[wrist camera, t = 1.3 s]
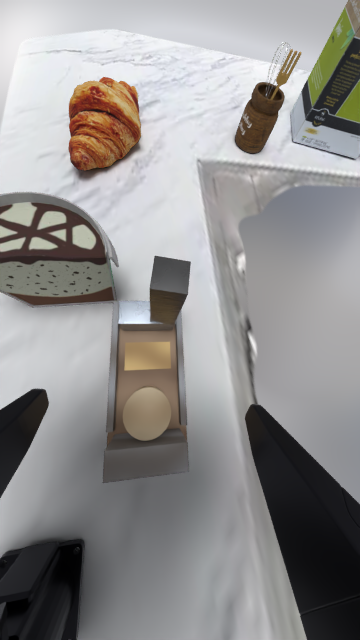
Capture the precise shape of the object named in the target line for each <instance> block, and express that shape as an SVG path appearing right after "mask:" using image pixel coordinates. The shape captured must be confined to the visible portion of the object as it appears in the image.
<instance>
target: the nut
mask: <svg viewBox="0 0 360 640" xmlns="http://www.w3.org/2000/svg"><path fill="white" fill-rule="evenodd" d="M170 419H171V406H170V403H169V401H168V399H167V397H166V396H165V395H164V393H163V392H162V391H161V390H160V389H158V388H157V387H154V386H144V387H142V388H140V389H138V390H137V391H136V392H134V393H133V395H132V396H131V397H130V398H129V399H128V400H127V402H126V404H125V407H124V410H123V423H124V426H125V428H126V430H127V432H128V433H129V434H130V435H131V436H132V437H134V438H136V439H138V440H143V441H148V440H152V439H155V438H157V437H158V436H160V435H161V434H162V433H163V432H164V431H165V430H166V428H167V427H168V425H169V422H170Z"/></svg>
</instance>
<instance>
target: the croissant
mask: <svg viewBox="0 0 360 640" xmlns="http://www.w3.org/2000/svg"><path fill="white" fill-rule="evenodd" d="M69 117H70V124H69V128H70V134H71V139H70V142H69V152H70V160H71V163H72V164H73V165H74V166H75V167H76V168H77V169H80V170H82V169H83V170H89V169H92V168H96V167H99V168H101V167H102V168H104V167H108V166H111V165H112V164H113V163H114V162H115V161H116V160H118V159H122V158H123V157H124V156H125V155H126V154H127V153H128V152H129V150H130V149H131V148H132V147H133V146H134V145H135V144H136V143H137V142H138V141H139V139H140V137H141V130H140V128H141V123H140V121H139V106H138V93H137V91H136V88H135V87H134V86H132V87H130V86H129V85H128V84H127V83H126V82H124V81H120V82H119V83H118V82H116V81H114V80H113V79H111V78H106V77H103V78H102V79H100V81H99V82H98V81H88V82H85V83H83V84H82V85H78V86H77V87H76V88H75V89H74V94H73V96H72V97H71V99H70V103H69Z"/></svg>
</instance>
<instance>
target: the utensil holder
mask: <svg viewBox="0 0 360 640" xmlns="http://www.w3.org/2000/svg"><path fill="white" fill-rule="evenodd" d="M285 44H286V42H285ZM285 44H284V45H285ZM287 44H288V43H287ZM284 45H283V46H284ZM288 45H289V44H288ZM289 46H290V45H289ZM278 48H279V47H278ZM277 50H278V49H277ZM276 52H277V51H276ZM292 52H293V50H292V49H291V50H290V52H289V54H288V56H287V59H286V60H285V63H284V64H281V65H283V66H282V68H281V69H279V70H280V72H278V73H279V74H277V75H278V76H277V78H276V79H275V80H276V82H277V84H278V85H277V84H276V85H277V86H275V85H273V84H274V83H273V84H270V83H271V82H269V83H268V81H267V83H266V82H261V83H258V84H257V85H256V87H255V88H254V90H253V93H252V99H250V101H249V102H248V103H247V105H246V107H245V110H244V112H243V115H242V118H241V121H240V123H239V126H238V129H237V132H236V137H235V141H236V144H237V145H238V146H239V147H240V148H241V149H242V150H244V151H246V152H248V153H257V152H259V151H261V150H262V149H263V147H264V145H265V144H266V142H267V140H268V138H269V136H270V134H271V132H272V129H273V127H274V125H275V123H276V121H277V118H278V111H279V110H280V108H281V107H282V104H283V101H284V93H283V92H282V91H281V90H280V89H279V87H280V86H281V85H283V84H285V83H286V82H287V80H288V78H289V76H290V74H291V72H292V70H293V69H294V67H295V65H296V63H297V61H298V59H299V57H300V55H301V52H299V54H298V56H297V58H296V60H295V61H294V64H293V65H292V67H291V69H290V71H289V73H288V74H286V73H287V71H288V69H289V67H290V65H291V63H292V61H293V59H294V57H295V55H296V54H297V51H295V52H294V54H293V56H292V58H291V60H290V62H289V64H288V66H287V68H286V65H287V62H288V60H289V58H290V56H291V54H292ZM275 55H276V54H275ZM272 63H273V62H272ZM272 63H271V64H272ZM275 64H276V63H275ZM270 67H271V66H270ZM275 67H276V66H275ZM284 68H286V70H285V69H284ZM270 69H271V68H270ZM270 69H269V70H270ZM273 69H274V68H273ZM274 70H275V69H274ZM283 70H285V72H284V71H283ZM269 72H270V71H269ZM269 72H268V74H269ZM272 72H273V71H272ZM282 72H284V73H282ZM273 73H274V72H273ZM271 76H273V75H272V74H271ZM268 77H269V75H268ZM267 79H268V78H267ZM270 79H271V78H270ZM271 80H272V79H271ZM274 82H275V81H274Z"/></svg>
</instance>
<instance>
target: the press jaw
mask: <svg viewBox="0 0 360 640" xmlns="http://www.w3.org/2000/svg"><path fill="white" fill-rule="evenodd" d="M190 263H191V262H189V261H183V260H177V259H171V258H165V257H159V256H155V258H154V264H153V271H152V277H151V284H150V301H119V321H118V324H119V326H120V327H121V329H122V330H123V331H155V330H173V328H174V326H175V324H176V319H177V317H178V315H179V313H180V310H181V308H182V306H183V304H184V302H185V299H186V297H187V295H188V286H189V274H190Z"/></svg>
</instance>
